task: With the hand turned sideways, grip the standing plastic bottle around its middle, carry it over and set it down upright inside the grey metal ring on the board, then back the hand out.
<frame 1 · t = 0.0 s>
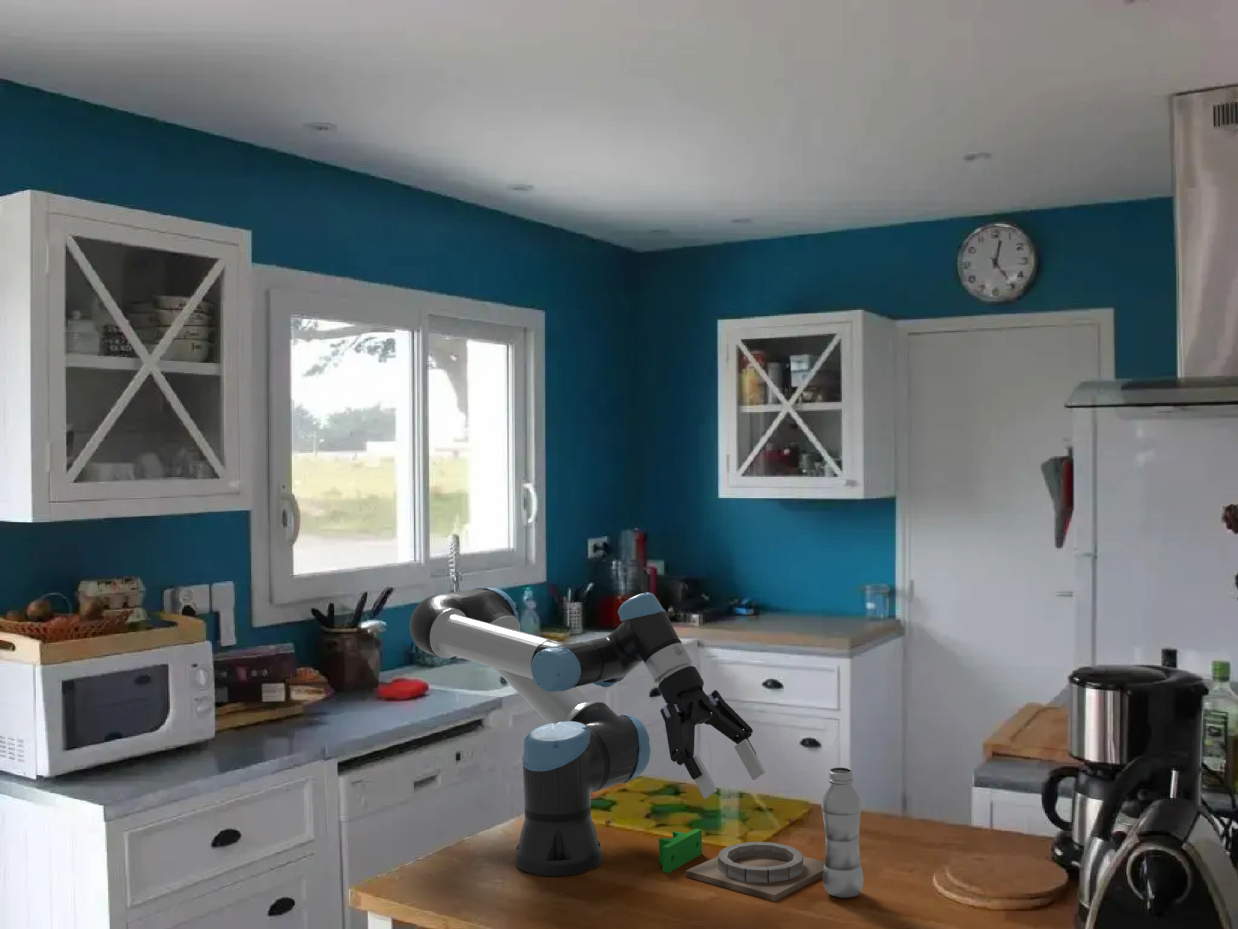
hand: (735, 785, 202), 15 cm above the worktop, tool tilted 35°, fingers open, 13 cm apart
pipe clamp: (677, 863, 210), on the worktop
plastic bottle: (843, 896, 193), on the worktop
ring board: (760, 873, 204), on the worktop
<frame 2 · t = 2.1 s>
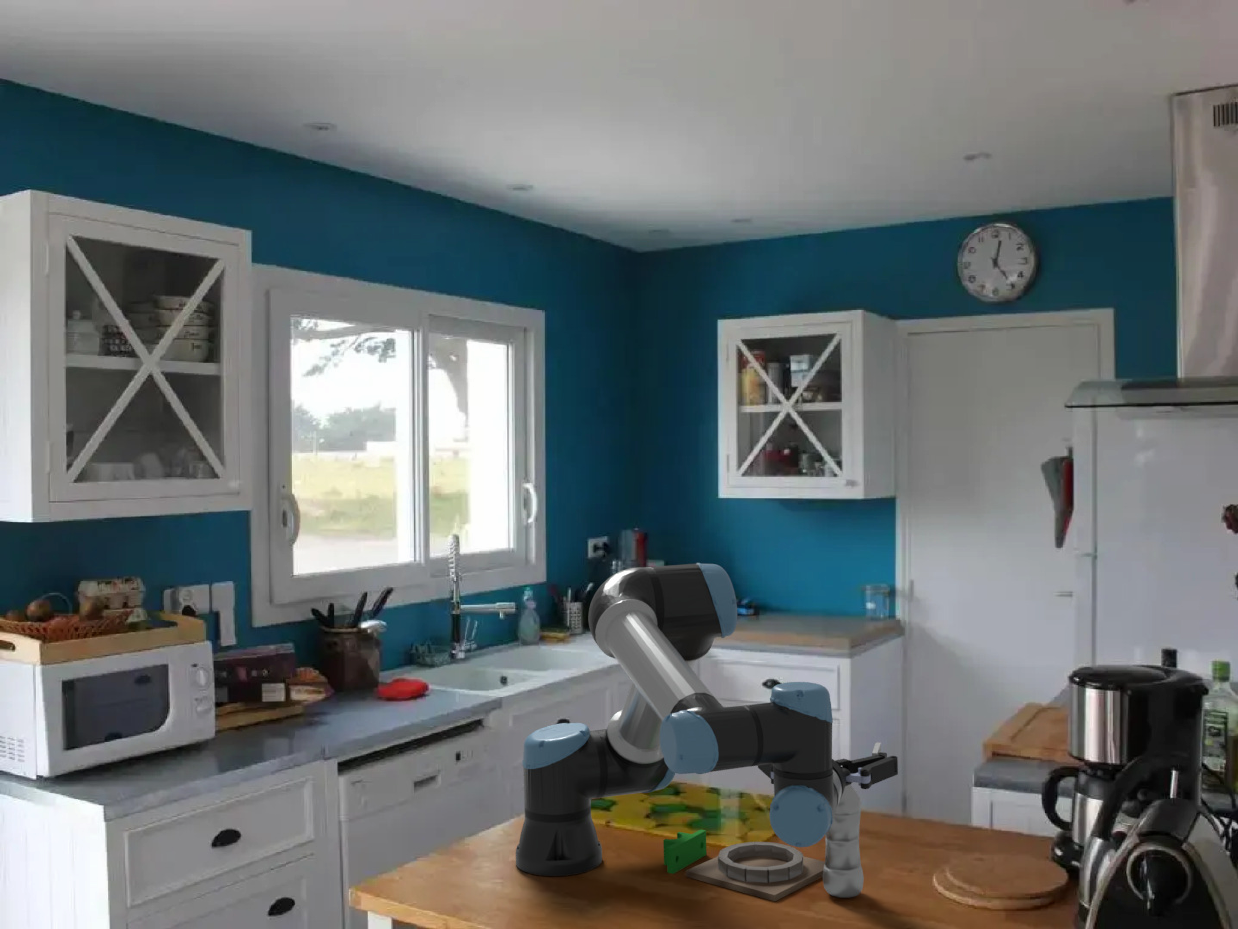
hand: (832, 749, 183), 26 cm above the worktop, tool horizontal, fingers open, 13 cm apart
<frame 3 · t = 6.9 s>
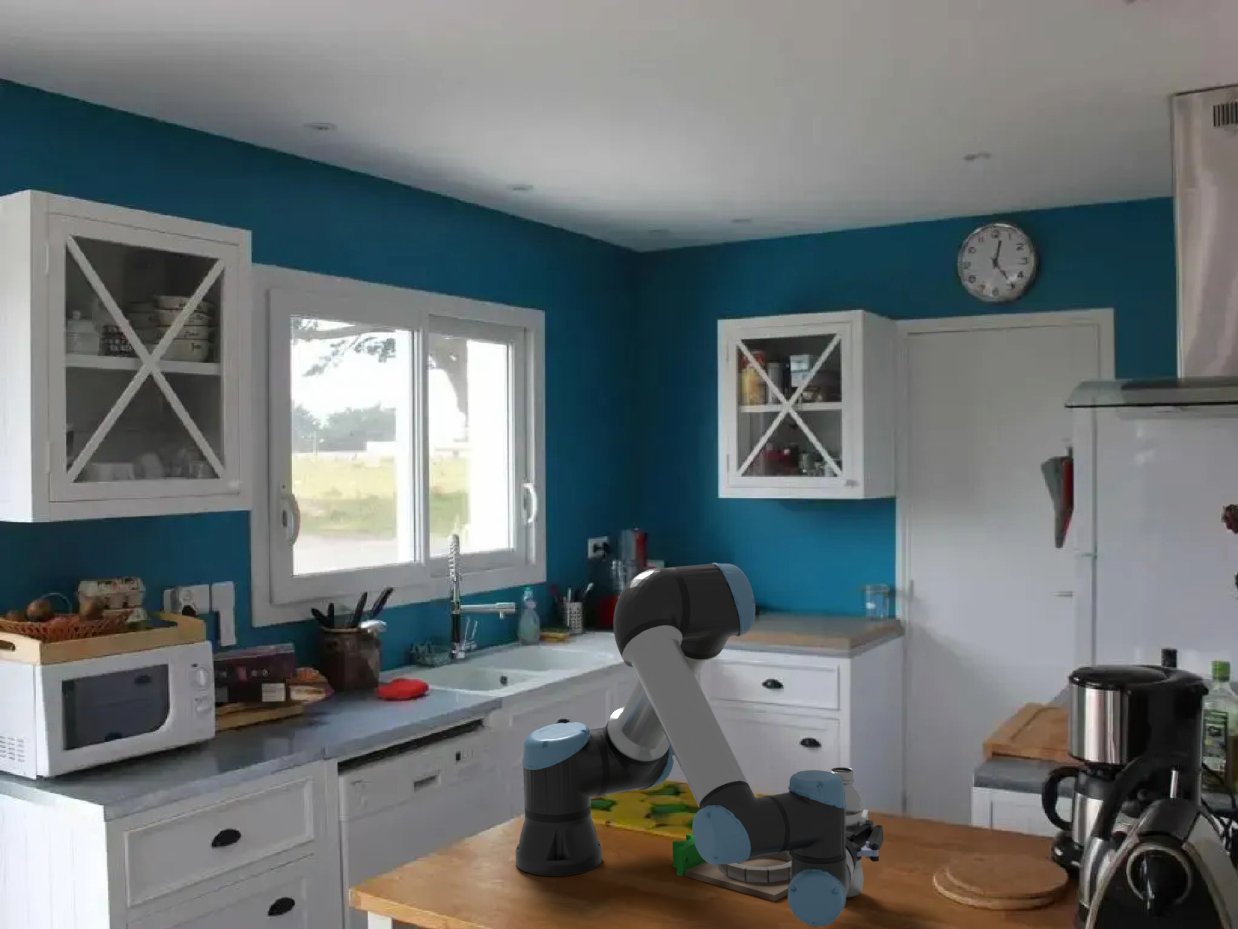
hand: (845, 816, 198), 11 cm above the worktop, tool horizontal, fingers closed on plastic bottle, 6 cm apart
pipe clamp: (691, 866, 209), on the worktop
plastic bottle: (843, 896, 193), on the worktop, touching gripper
when the fingers open (14 cm above the worktop, at t = 11.1 s): plastic bottle drops 2 cm, resting on ring board.
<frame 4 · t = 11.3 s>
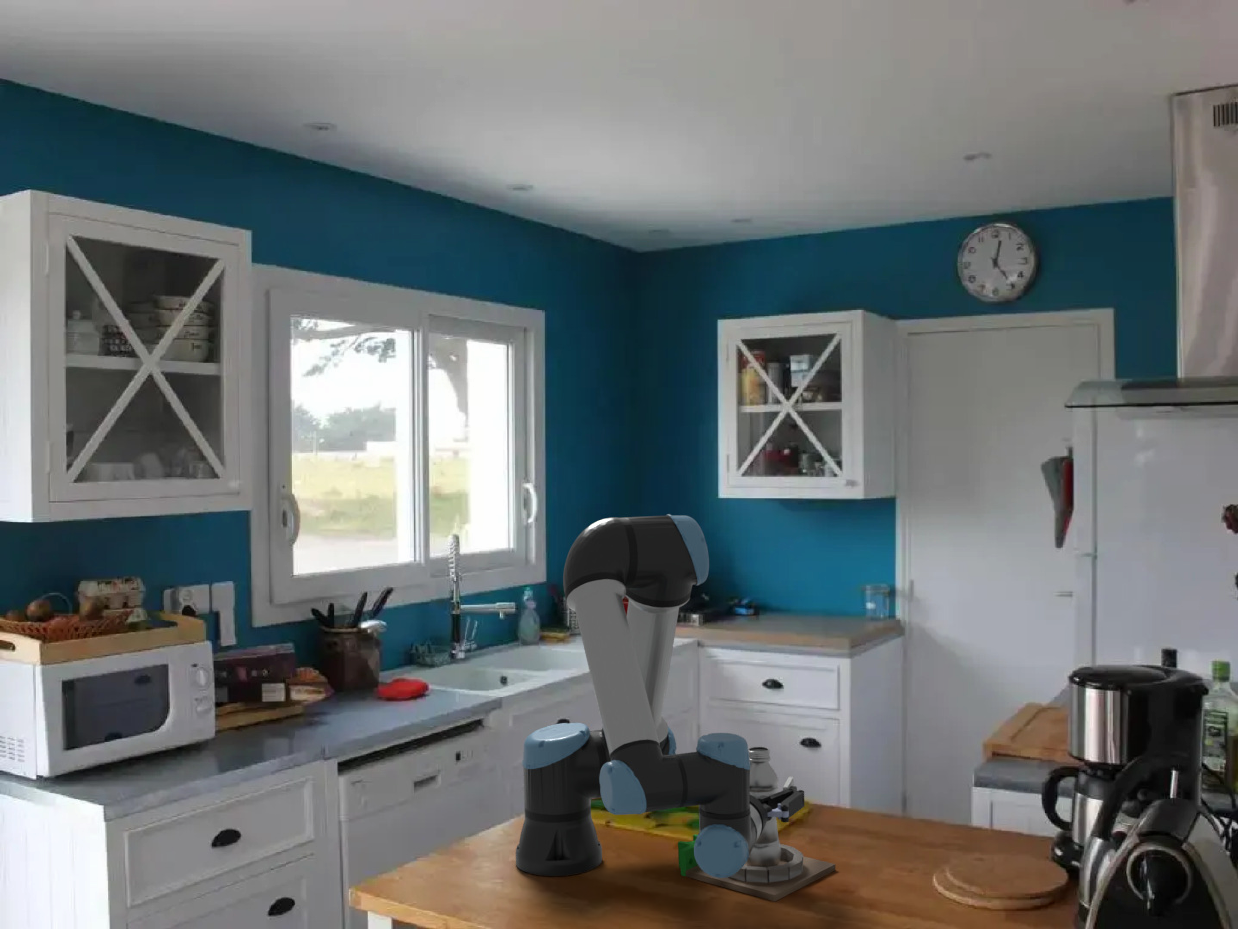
hand: (763, 783, 208), 14 cm above the worktop, tool horizontal, fingers open, 9 cm apart
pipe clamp: (697, 867, 208), on the worktop
plastic bottle: (762, 868, 203), point 1 cm above the worktop, touching ring board
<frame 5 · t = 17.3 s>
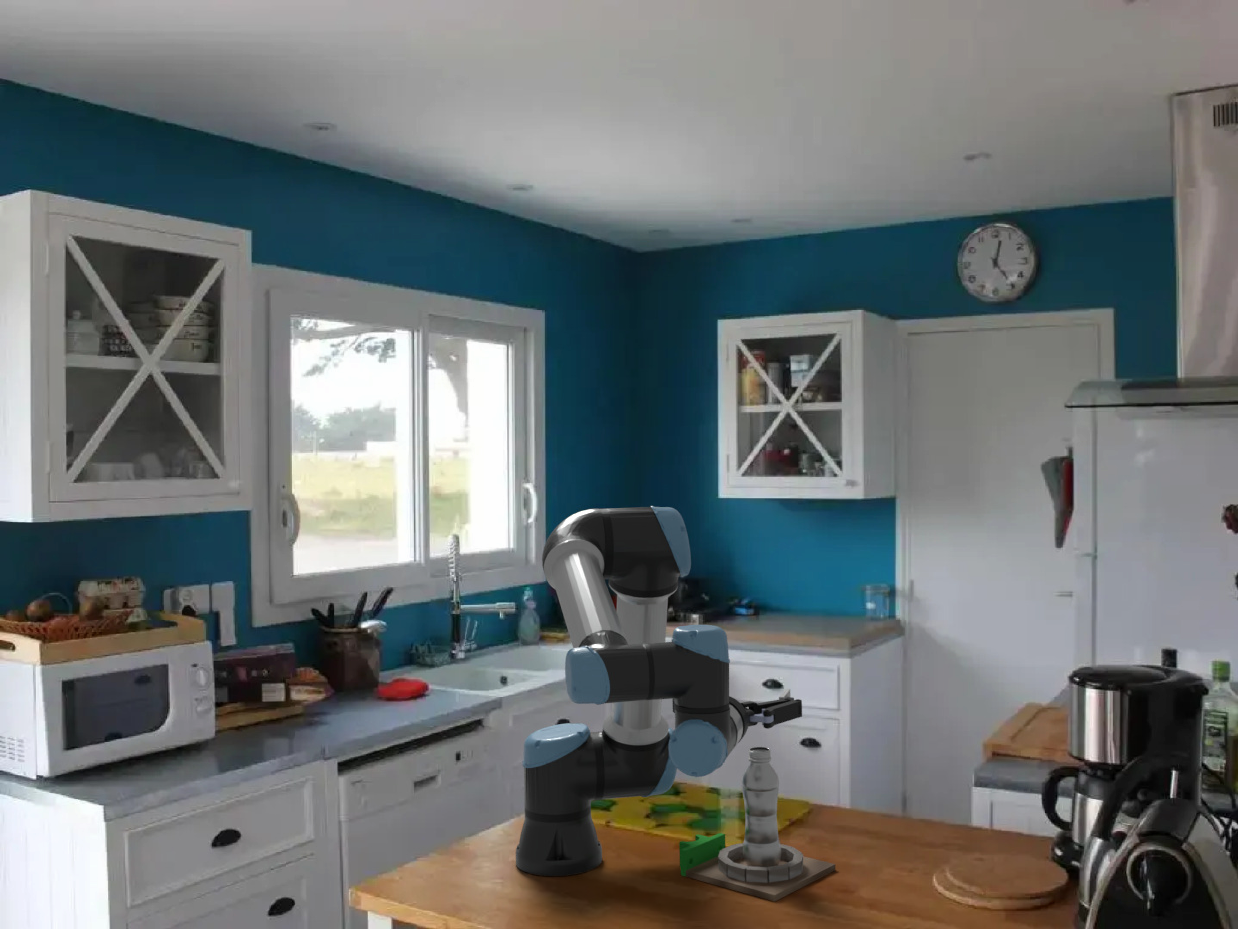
hand: (745, 695, 194), 32 cm above the worktop, tool horizontal, fingers open, 13 cm apart
nothing on the worktop moved.
at the end: plastic bottle 0.3 cm off-centre on the ring board, point 0.8 cm above the ring board's base; plastic bottle tilted 0°; the gripper is holding nothing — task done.
